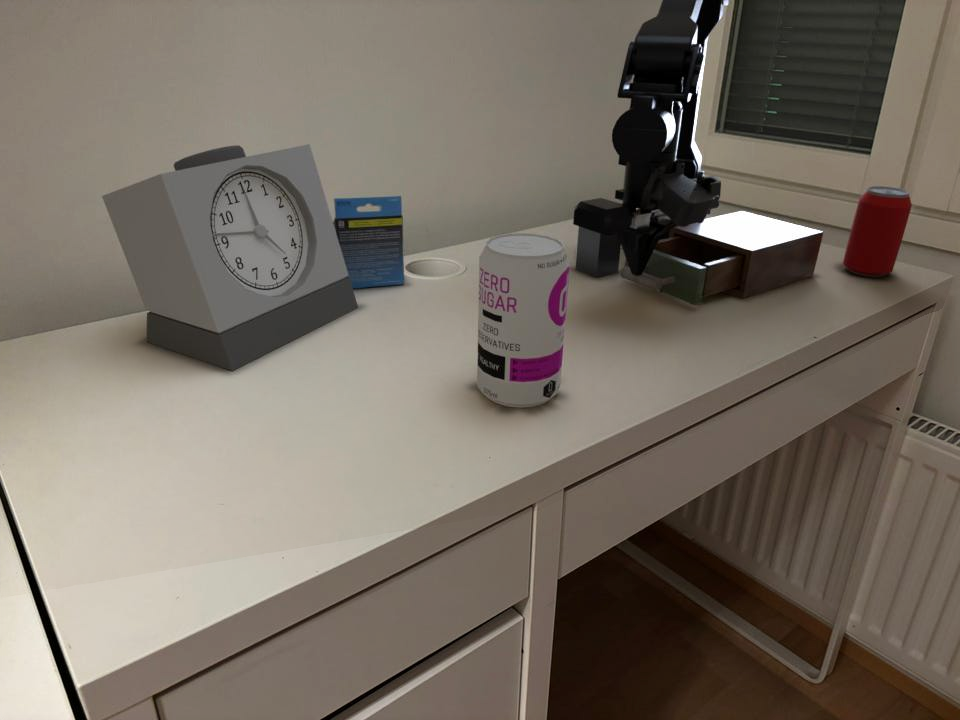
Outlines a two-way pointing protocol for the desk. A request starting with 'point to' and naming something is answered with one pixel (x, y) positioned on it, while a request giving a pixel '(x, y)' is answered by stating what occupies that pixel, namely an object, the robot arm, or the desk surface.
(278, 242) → the alarm clock
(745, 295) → the cabinet
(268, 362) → the desk surface
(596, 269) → the steel block
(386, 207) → the label tape box
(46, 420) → the desk surface
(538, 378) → the supplement can
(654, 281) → the rack drawer
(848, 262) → the beverage can
